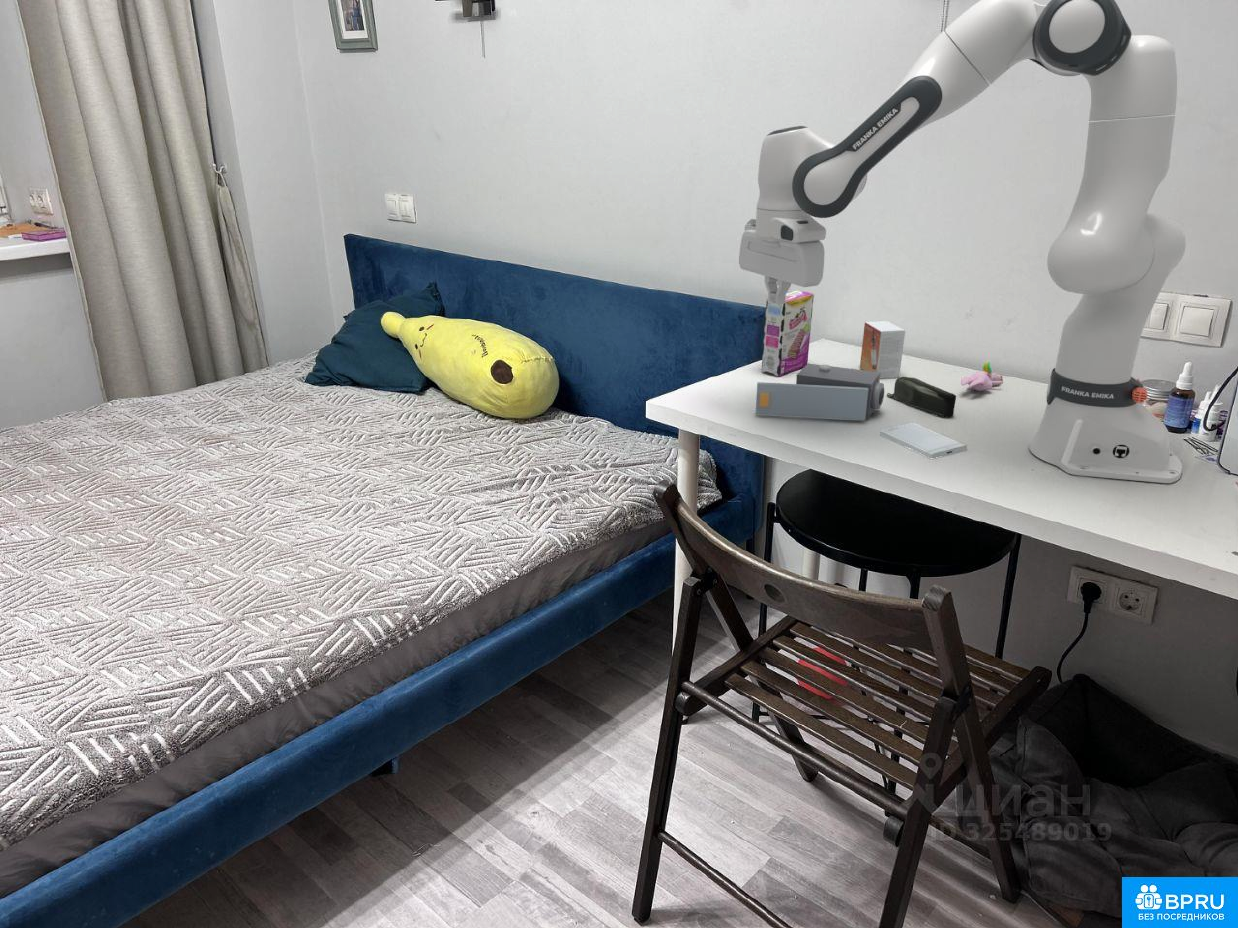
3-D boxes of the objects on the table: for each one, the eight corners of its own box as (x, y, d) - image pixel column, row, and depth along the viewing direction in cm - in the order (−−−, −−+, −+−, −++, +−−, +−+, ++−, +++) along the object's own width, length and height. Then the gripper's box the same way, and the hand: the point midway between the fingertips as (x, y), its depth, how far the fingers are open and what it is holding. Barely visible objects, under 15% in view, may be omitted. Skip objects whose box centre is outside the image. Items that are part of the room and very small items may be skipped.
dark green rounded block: (959, 393, 167) (897, 370, 179) (948, 396, 166) (886, 373, 177) (955, 418, 169) (894, 394, 181) (944, 421, 168) (883, 397, 179)
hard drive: (879, 430, 160) (932, 453, 150) (914, 421, 164) (967, 443, 153) (879, 438, 161) (931, 462, 151) (913, 430, 164) (966, 452, 154)
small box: (859, 368, 197) (863, 321, 193) (883, 367, 198) (888, 320, 194) (875, 379, 190) (880, 331, 185) (900, 378, 190) (905, 329, 186)
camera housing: (884, 408, 173) (889, 369, 170) (875, 421, 167) (880, 381, 164) (805, 397, 180) (808, 359, 177) (794, 409, 173) (797, 370, 170)
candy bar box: (779, 378, 191) (784, 301, 185) (760, 373, 194) (764, 297, 188) (809, 366, 199) (815, 292, 192) (790, 362, 202) (795, 289, 195)
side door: (864, 418, 167) (868, 387, 164) (865, 421, 165) (868, 390, 163) (755, 412, 170) (757, 382, 168) (755, 415, 169) (757, 384, 167)
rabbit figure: (979, 385, 190) (948, 390, 179) (985, 357, 188) (955, 361, 178) (1008, 391, 186) (979, 397, 175) (1015, 363, 184) (986, 367, 174)
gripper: (732, 218, 165) (729, 293, 171) (803, 234, 149) (797, 316, 154) (760, 216, 168) (756, 290, 174) (833, 231, 152) (826, 311, 157)
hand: (776, 302), depth 164 cm, fingers closed
